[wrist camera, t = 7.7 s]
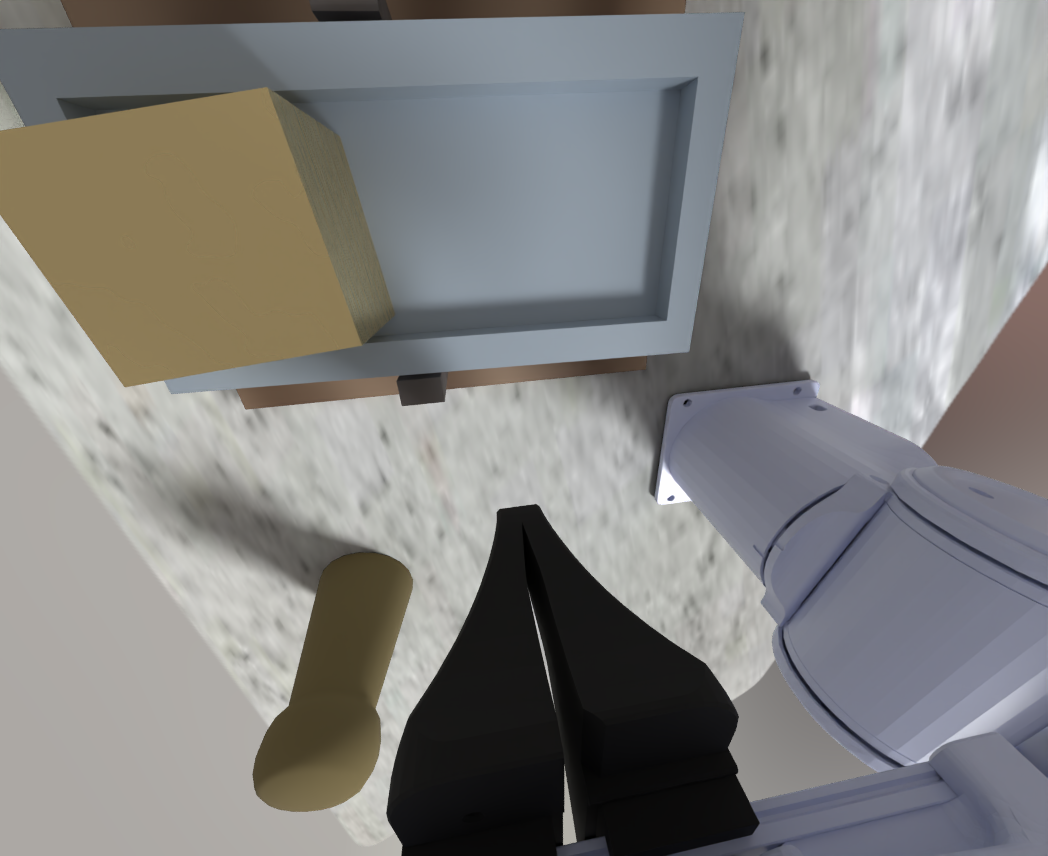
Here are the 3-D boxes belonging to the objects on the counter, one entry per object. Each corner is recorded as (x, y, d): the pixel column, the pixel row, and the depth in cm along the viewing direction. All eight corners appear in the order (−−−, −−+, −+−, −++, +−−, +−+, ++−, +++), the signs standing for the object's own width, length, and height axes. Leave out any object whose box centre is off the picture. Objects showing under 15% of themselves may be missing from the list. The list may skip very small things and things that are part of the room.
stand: (673, 5, 14) (781, -114, 9) (638, 363, 20) (690, 402, 16) (84, 3, 12) (-171, -153, 7) (255, 401, 18) (183, 458, 14)
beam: (701, 36, 11) (747, -6, 9) (662, 344, 16) (687, 360, 14) (63, 54, 10) (-38, 10, 8) (217, 379, 14) (175, 402, 12)
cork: (299, 584, 24) (190, 813, 15) (366, 537, 23) (296, 750, 14) (368, 624, 27) (315, 840, 17) (431, 584, 26) (411, 789, 16)
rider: (339, 136, 10) (266, 87, 7) (395, 315, 13) (361, 345, 9) (128, 171, 10) (-55, 139, 7) (224, 344, 13) (124, 387, 9)
